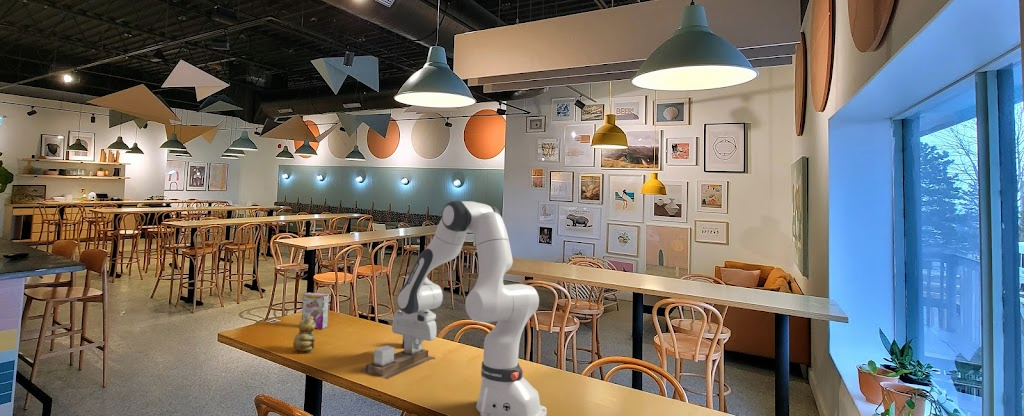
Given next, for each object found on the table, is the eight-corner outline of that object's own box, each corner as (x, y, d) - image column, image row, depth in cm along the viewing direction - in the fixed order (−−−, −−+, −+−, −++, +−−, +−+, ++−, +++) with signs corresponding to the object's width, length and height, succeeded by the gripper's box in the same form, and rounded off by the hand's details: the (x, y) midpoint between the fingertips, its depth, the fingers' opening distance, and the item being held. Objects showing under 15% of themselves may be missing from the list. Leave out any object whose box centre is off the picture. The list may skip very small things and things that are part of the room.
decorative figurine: (315, 353, 186) (316, 317, 186) (292, 355, 183) (294, 318, 183) (314, 346, 195) (315, 311, 195) (292, 348, 192) (294, 312, 191)
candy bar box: (300, 328, 221) (302, 294, 221) (306, 325, 226) (308, 292, 226) (322, 329, 220) (323, 295, 219) (328, 327, 225) (329, 293, 224)
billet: (421, 353, 184) (422, 333, 184) (411, 357, 179) (412, 337, 179) (413, 351, 186) (414, 331, 186) (403, 355, 181) (404, 335, 181)
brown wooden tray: (434, 361, 184) (435, 351, 184) (387, 383, 160) (387, 371, 160) (407, 354, 191) (408, 344, 190) (358, 374, 167) (358, 363, 167)
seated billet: (393, 368, 170) (394, 347, 170) (381, 373, 165) (382, 351, 165) (385, 366, 172) (386, 345, 172) (373, 371, 167) (374, 349, 166)
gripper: (389, 310, 184) (387, 344, 184) (429, 318, 175) (427, 354, 175) (399, 307, 190) (398, 341, 190) (439, 315, 180) (438, 350, 180)
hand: (412, 347), depth 182 cm, fingers closed on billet, 4 cm apart
